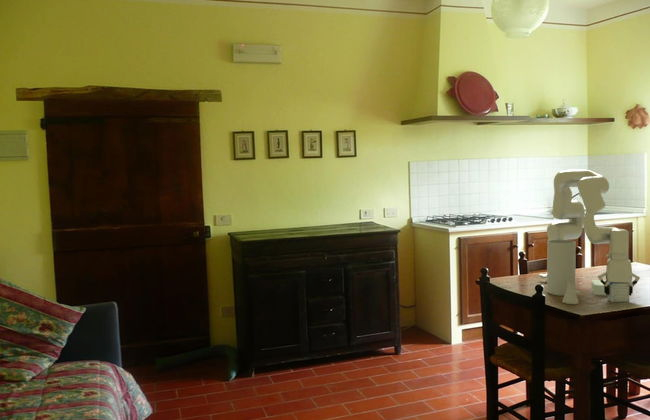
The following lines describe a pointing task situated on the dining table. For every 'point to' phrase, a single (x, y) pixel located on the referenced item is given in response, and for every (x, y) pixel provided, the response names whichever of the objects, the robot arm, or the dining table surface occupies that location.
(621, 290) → the medicine box
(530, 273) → the dining table surface
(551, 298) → the dining table surface
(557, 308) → the dining table surface
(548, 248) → the cylinder vase
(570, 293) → the flask
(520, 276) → the dining table surface
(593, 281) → the sage block
